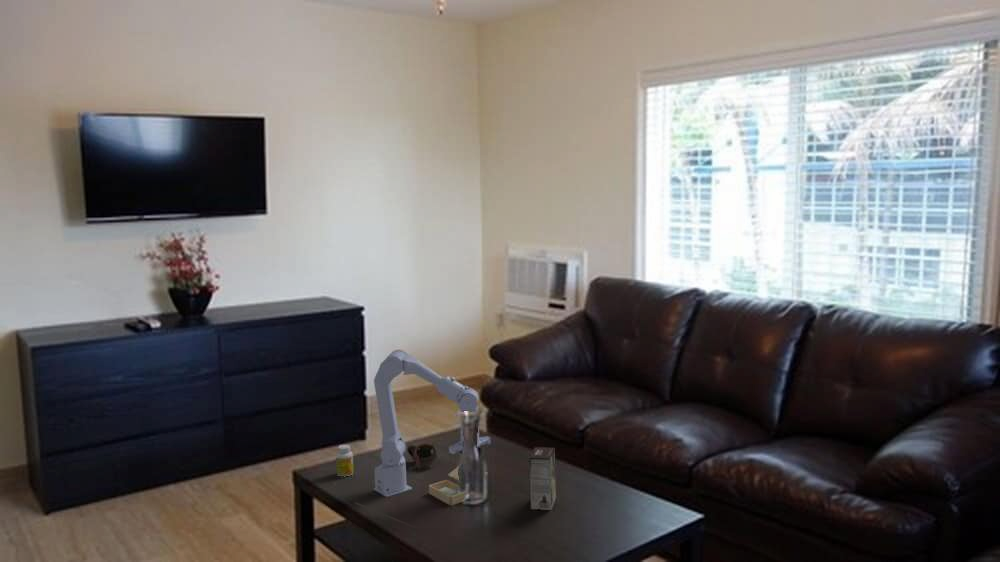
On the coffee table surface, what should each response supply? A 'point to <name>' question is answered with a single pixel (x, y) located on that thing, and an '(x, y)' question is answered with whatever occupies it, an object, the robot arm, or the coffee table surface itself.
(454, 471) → the lid
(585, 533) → the coffee table surface
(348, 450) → the supplement bottle
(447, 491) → the soap
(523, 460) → the coffee table surface
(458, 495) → the mailer box
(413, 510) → the coffee table surface
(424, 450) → the pottery mug
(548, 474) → the coffee box
